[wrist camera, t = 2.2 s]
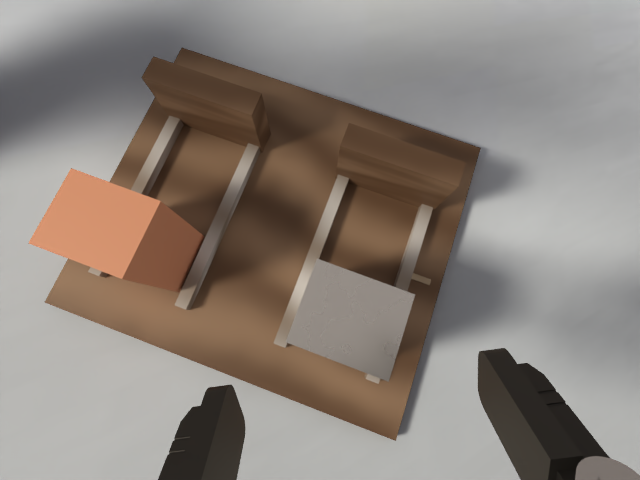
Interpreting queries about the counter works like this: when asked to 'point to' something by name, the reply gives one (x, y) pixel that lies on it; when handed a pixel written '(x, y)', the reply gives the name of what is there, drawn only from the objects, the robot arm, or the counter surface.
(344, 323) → the steel slider
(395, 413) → the board
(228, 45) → the counter surface
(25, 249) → the counter surface
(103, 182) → the terracotta slider
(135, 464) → the counter surface
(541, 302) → the counter surface
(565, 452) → the robot arm
